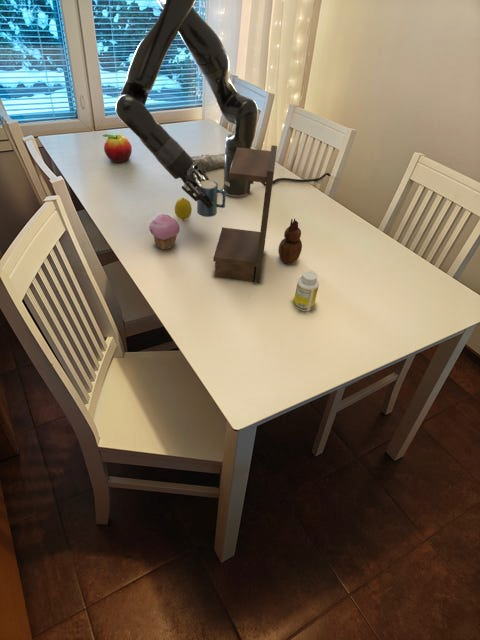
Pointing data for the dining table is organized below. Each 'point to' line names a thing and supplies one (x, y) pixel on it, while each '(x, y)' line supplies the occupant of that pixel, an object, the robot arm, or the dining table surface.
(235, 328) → the dining table surface
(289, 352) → the dining table surface
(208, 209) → the mug
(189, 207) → the lemon
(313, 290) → the supplement bottle
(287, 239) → the wooden figurine
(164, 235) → the cupcake
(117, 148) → the fruit
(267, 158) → the shelf
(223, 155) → the elongated rock
